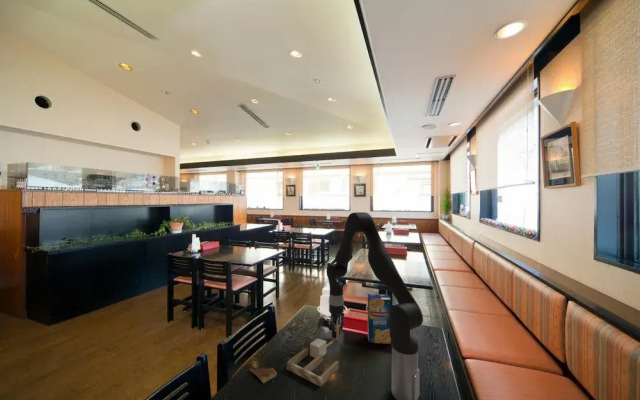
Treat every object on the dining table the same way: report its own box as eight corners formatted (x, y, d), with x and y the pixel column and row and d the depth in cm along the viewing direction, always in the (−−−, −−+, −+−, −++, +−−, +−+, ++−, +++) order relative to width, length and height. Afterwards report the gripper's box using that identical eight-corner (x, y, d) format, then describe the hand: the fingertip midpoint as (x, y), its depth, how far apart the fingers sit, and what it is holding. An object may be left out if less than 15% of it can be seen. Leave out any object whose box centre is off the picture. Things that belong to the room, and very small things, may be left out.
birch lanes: (338, 368, 106) (338, 361, 106) (320, 387, 96) (320, 379, 96) (305, 354, 117) (305, 347, 117) (286, 369, 106) (286, 361, 106)
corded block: (341, 339, 129) (341, 323, 129) (319, 359, 112) (319, 341, 113) (333, 336, 132) (333, 321, 132) (310, 355, 115) (310, 338, 115)
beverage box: (391, 343, 126) (391, 299, 126) (368, 342, 127) (369, 298, 127) (388, 336, 133) (388, 294, 133) (367, 335, 134) (367, 293, 134)
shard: (249, 371, 105) (249, 367, 105) (265, 363, 110) (265, 359, 110) (262, 385, 97) (262, 380, 97) (279, 375, 103) (279, 371, 103)
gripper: (335, 308, 122) (335, 344, 122) (349, 300, 133) (348, 332, 133) (322, 305, 126) (322, 339, 126) (337, 296, 138) (336, 328, 137)
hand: (335, 335), depth 130 cm, fingers closed on corded block, 3 cm apart
